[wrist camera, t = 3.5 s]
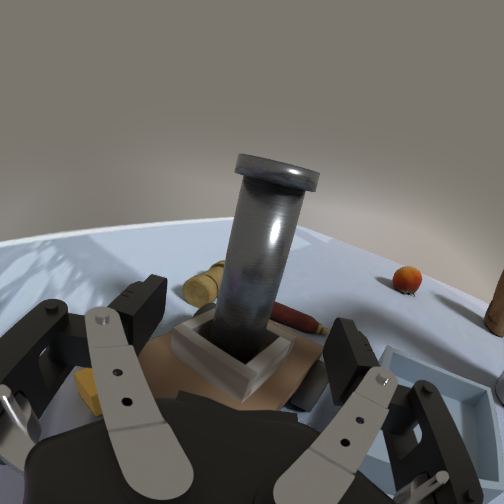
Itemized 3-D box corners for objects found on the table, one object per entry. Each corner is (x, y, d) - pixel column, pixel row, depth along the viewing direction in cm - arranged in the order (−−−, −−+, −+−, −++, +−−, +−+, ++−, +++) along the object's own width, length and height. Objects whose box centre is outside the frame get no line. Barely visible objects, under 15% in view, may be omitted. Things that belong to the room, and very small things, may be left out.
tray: (373, 368, 31) (387, 345, 30) (474, 409, 23) (490, 387, 22) (328, 470, 16) (350, 447, 15) (475, 511, 8) (504, 490, 7)
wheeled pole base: (214, 331, 33) (226, 274, 31) (322, 393, 26) (352, 335, 24) (103, 387, 20) (94, 316, 17) (235, 503, 13) (265, 460, 10)
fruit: (409, 295, 57) (409, 262, 59) (387, 297, 65) (387, 267, 67) (427, 296, 60) (427, 266, 61) (406, 298, 67) (406, 270, 69)
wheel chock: (110, 379, 21) (107, 358, 20) (128, 400, 20) (126, 380, 19) (79, 393, 18) (73, 372, 17) (96, 416, 17) (90, 396, 16)
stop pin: (226, 331, 25) (265, 160, 20) (273, 359, 22) (330, 177, 18) (186, 353, 20) (221, 149, 16) (238, 390, 18) (300, 166, 13)
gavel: (336, 305, 41) (331, 337, 32) (324, 328, 43) (317, 363, 34) (217, 256, 46) (185, 273, 37) (210, 279, 48) (179, 301, 38)
